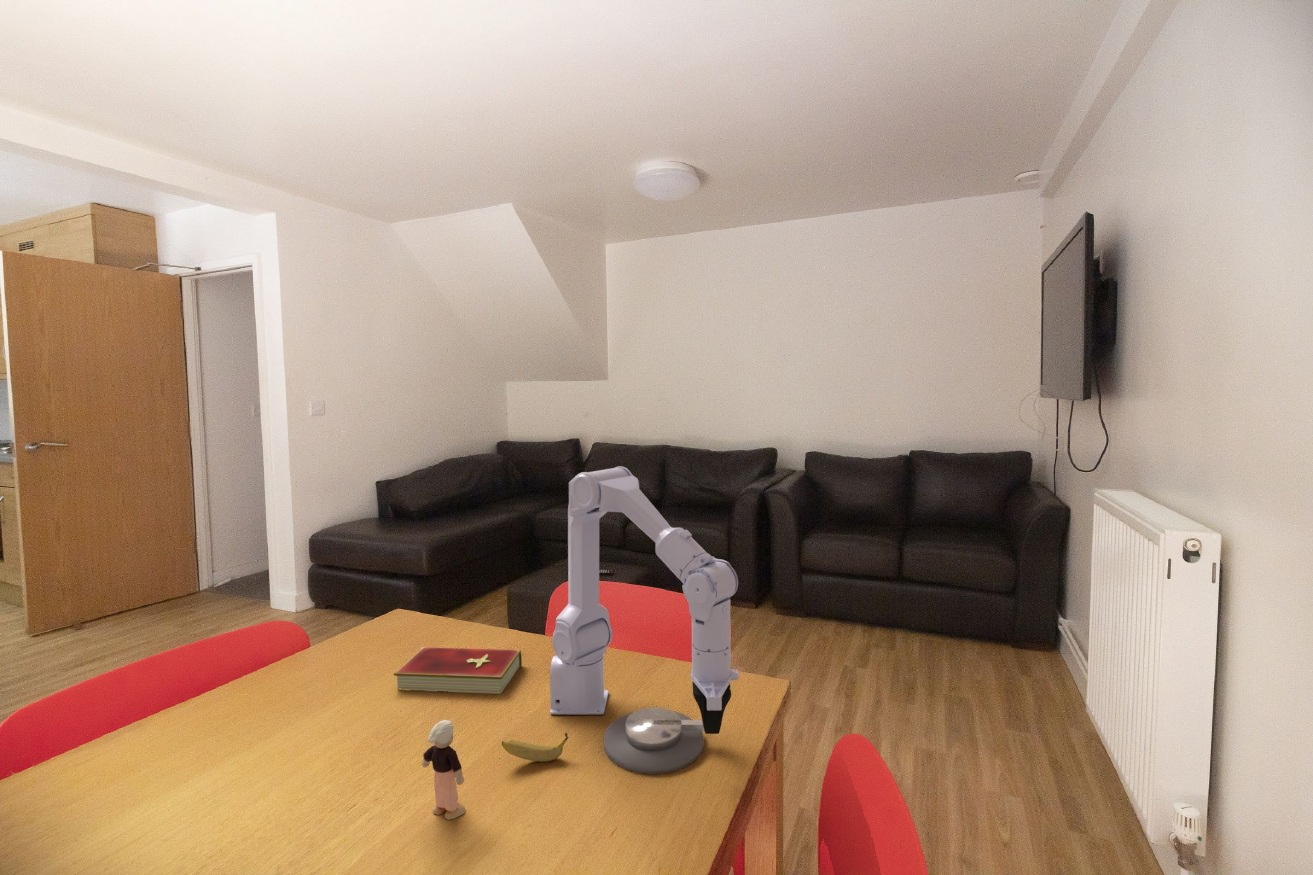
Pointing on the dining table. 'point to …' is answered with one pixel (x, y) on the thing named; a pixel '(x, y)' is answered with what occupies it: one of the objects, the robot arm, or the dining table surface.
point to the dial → (657, 728)
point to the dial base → (648, 759)
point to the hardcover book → (459, 670)
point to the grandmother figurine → (444, 770)
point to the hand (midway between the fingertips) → (711, 731)
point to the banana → (534, 750)
